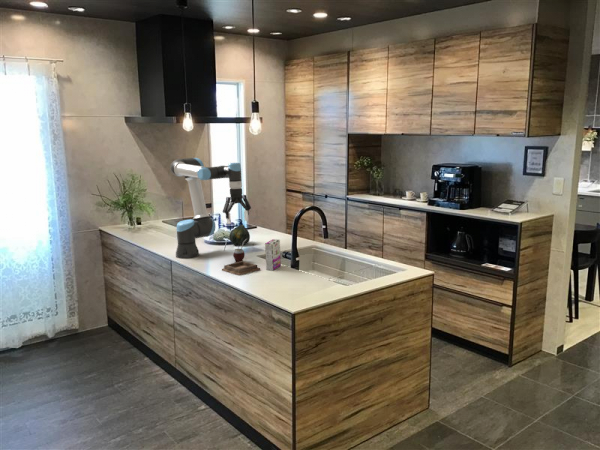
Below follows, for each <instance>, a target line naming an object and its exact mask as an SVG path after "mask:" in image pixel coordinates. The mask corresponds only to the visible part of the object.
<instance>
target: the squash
mask: <svg viewBox="0 0 600 450" xmlns="http://www.w3.org/2000/svg"><path fill="white" fill-rule="evenodd" d="M228 238H229V240H230V243H232V245H233V246H240V245H241V246H242V244H243V242H244V241H245V240H246V239H247V240H246V241H245V242H244V244H243V245H245V244H248V243H249V242H250V239H251V235H250V232H249V230H248V229H247V228H246V226H245V225H244V224H239V225H237V226H236V227H235V228H233V229H232V230H231V231H230V232H229V237H228Z"/></svg>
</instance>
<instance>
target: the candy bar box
mask: <svg viewBox="0 0 600 450" xmlns="http://www.w3.org/2000/svg"><path fill="white" fill-rule="evenodd" d="M280 241H281V240H280V239H277V238H276V239H275V238H273V239H270V240H269V241H267V242H265V243H264V246H265V247H264V248H265V268H266V269H265V270H266V271H275V270H276V269H278V268H279V267H281V266H282V264H281V263H282V261H281V244H280V243H281V242H280Z"/></svg>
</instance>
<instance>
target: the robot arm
mask: <svg viewBox="0 0 600 450" xmlns="http://www.w3.org/2000/svg"><path fill="white" fill-rule="evenodd" d="M169 169H170V173H171V174H172V175H173V176H175V177H184V179H185V181H187V184H188V189H189V190H188V191H189V195H190V200H191V204H192V209H193V215H194V217H193V218H192V219H184V220H180V221H179V222H177V224H176V229H175V230H176V236H177V247H176V251H175V257H176V258H179V259H190V258H191V259H192V258H196V257H198V256H199V255H200V251H199V249H198V246H197V244H196V239H201V238H207V237H210V236H213V235H214V233H215V231H216V222H215V219H213V218H211V216H210V214H208V211H207V205H206V200H205V196H204V190H203V185H202V181H209V180H220V179H228V181H229V182H228V185H229V188H230V189H229V195H230V197H229V196H226V198H225V204H224V206H223V209H222V213H223V214H225V219H226V224H227V225H231V224H232V221H231V213H230V212H231V211H232V208H233V206H234V205H235V204H240V205H241V206H242V208H243V209H244V210H243V213H244V214H243V216H244V222H245V221H247V222H248V221H249V214H250V212H249V211H250V210H251V209H252V207H251V205H250V202H249V201H248V197H247V195H246V194H243V187H242V186H243V183H242V166H241V163H240V162H229V163H228V165H218V166H205V165H204V162H203V161H202V159H200V158H198V157H189V158H188V157H187V158H176V159H175V160H173V161H172V162H171V163H170V167H169Z"/></svg>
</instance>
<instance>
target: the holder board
mask: <svg viewBox="0 0 600 450" xmlns="http://www.w3.org/2000/svg"><path fill="white" fill-rule="evenodd" d="M260 270H261V268H260V267H258V264H255V263H252V262H248V261H245V260H243V261H240V262H236V263H235V262H232V263H230V264H229V263H228V264H224V265H223V268H221V271H223V272H226V273H230V274H233V275H236V276H242V275H246V274H249V273H253V272H257V271H260Z"/></svg>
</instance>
